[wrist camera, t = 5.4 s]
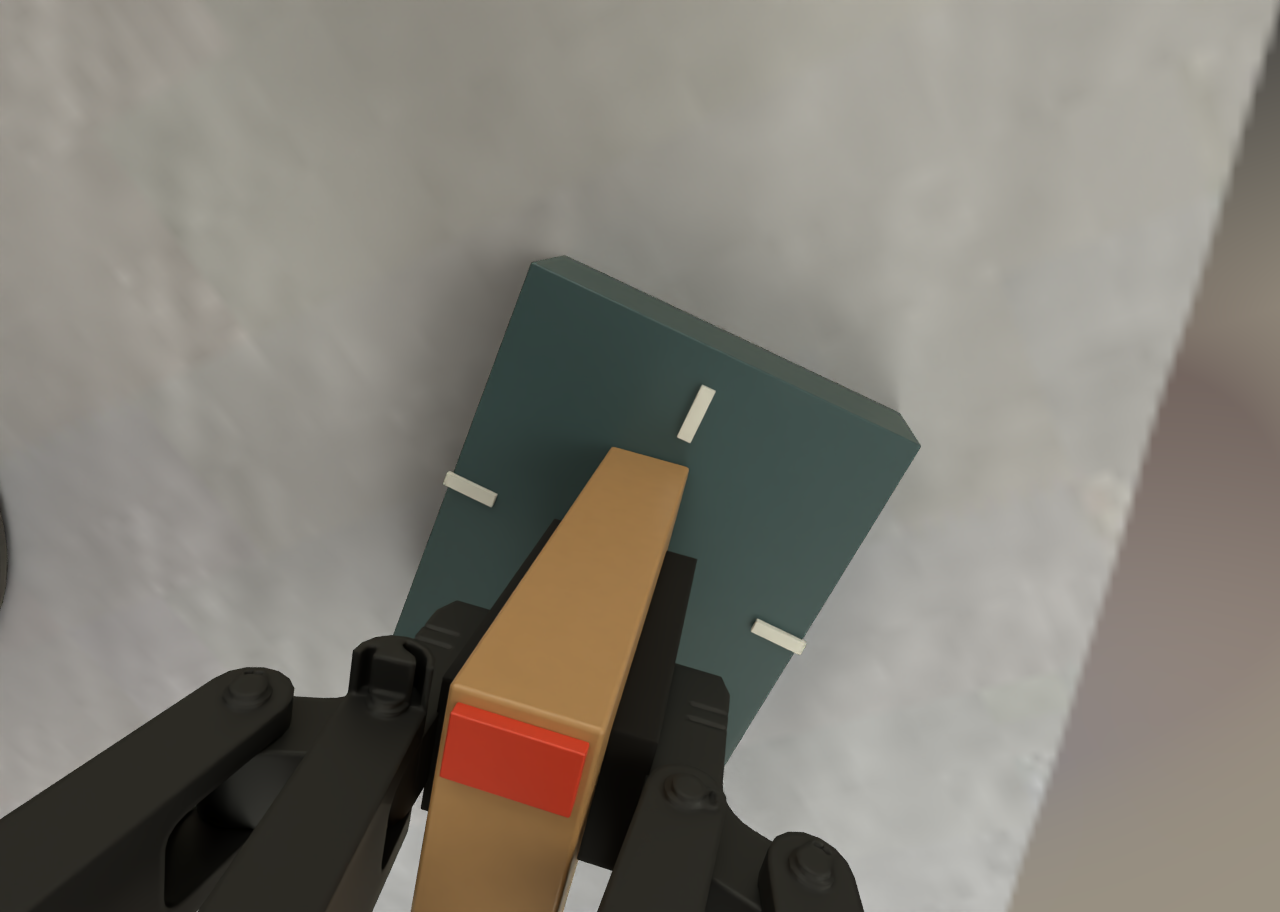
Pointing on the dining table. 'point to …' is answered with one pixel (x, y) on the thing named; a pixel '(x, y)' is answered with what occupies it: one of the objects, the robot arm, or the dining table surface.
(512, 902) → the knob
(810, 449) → the panel
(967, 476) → the dining table surface
